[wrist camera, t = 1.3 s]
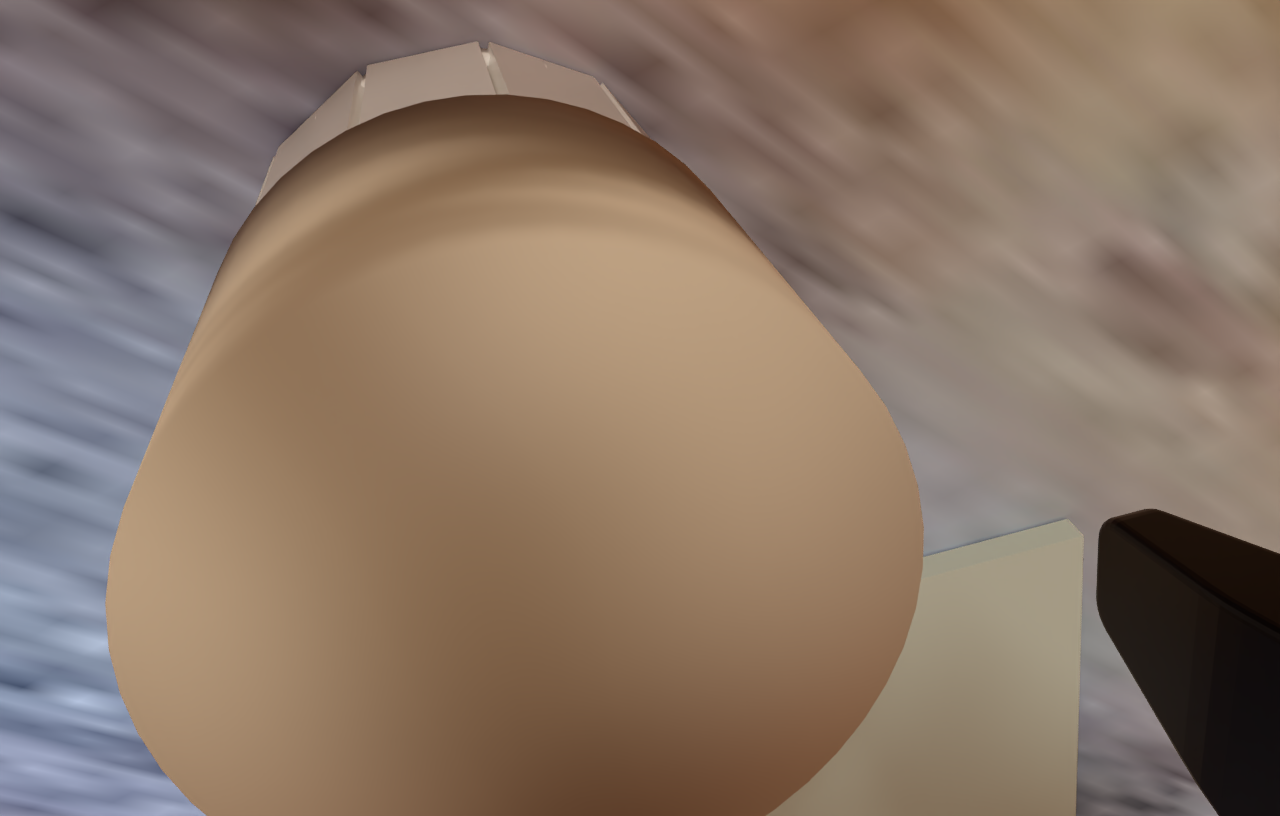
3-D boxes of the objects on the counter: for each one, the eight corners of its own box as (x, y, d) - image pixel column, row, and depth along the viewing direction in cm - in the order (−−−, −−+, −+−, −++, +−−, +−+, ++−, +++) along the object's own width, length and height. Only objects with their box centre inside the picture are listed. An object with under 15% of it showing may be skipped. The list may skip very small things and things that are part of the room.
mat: (1067, 518, 22) (1083, 535, 22) (1060, 903, 28) (1072, 924, 28) (477, 675, 21) (480, 697, 21) (597, 1039, 27) (601, 1063, 27)
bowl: (646, 3, 16) (713, 55, 13) (710, 395, 19) (778, 522, 16) (190, 103, 16) (131, 185, 12) (335, 490, 19) (320, 641, 15)
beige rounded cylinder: (729, 33, 13) (900, 147, 8) (793, 530, 16) (939, 795, 12) (105, 171, 12) (-62, 371, 8) (310, 656, 15) (276, 983, 11)
